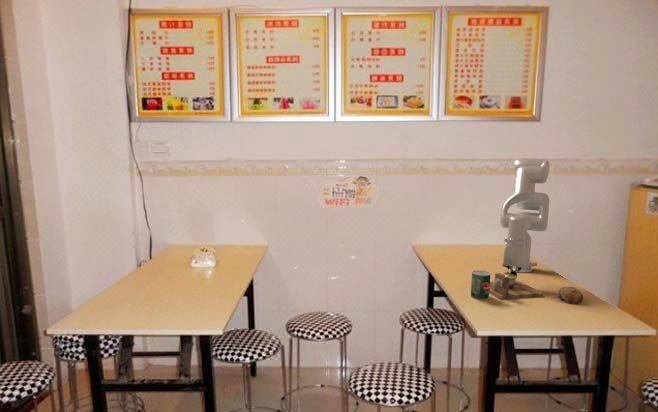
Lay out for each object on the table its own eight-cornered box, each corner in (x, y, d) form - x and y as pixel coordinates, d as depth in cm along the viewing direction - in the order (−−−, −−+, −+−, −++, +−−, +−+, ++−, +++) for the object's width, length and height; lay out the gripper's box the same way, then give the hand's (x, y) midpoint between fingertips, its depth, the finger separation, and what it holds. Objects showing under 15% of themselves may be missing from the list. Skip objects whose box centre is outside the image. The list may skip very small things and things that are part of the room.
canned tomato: (488, 300, 206) (490, 276, 204) (469, 298, 208) (471, 274, 207) (489, 295, 213) (490, 271, 211) (471, 292, 216) (472, 269, 214)
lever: (516, 289, 217) (516, 278, 216) (502, 287, 218) (503, 276, 217) (513, 279, 232) (513, 269, 231) (500, 278, 233) (500, 267, 233)
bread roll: (554, 305, 212) (550, 290, 209) (570, 293, 215) (566, 279, 212) (573, 313, 203) (569, 297, 200) (589, 300, 206) (585, 285, 203)
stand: (515, 282, 232) (517, 264, 231) (543, 296, 213) (545, 275, 211) (475, 285, 227) (477, 266, 225) (500, 299, 207) (501, 278, 206)
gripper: (498, 242, 224) (495, 279, 226) (532, 245, 217) (529, 284, 220) (500, 239, 231) (497, 275, 233) (533, 242, 224) (530, 280, 227)
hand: (513, 279), depth 227 cm, fingers closed
